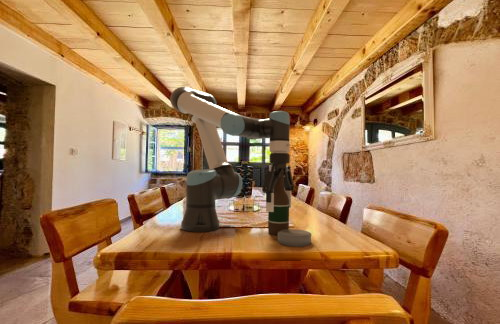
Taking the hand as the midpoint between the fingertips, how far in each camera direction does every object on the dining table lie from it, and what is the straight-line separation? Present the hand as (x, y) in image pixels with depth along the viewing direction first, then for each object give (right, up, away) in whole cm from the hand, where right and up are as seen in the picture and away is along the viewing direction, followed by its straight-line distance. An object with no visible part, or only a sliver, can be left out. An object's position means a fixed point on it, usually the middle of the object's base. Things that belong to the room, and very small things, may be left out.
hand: (279, 209), depth 103 cm
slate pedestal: (+4, -9, -12) cm, 15 cm away
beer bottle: (0, -9, 0) cm, 9 cm away
